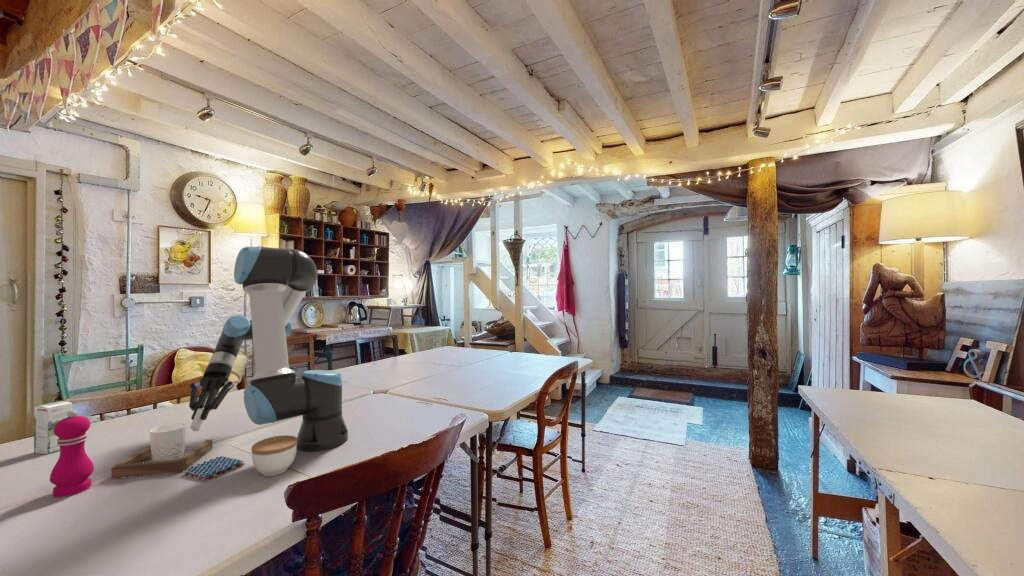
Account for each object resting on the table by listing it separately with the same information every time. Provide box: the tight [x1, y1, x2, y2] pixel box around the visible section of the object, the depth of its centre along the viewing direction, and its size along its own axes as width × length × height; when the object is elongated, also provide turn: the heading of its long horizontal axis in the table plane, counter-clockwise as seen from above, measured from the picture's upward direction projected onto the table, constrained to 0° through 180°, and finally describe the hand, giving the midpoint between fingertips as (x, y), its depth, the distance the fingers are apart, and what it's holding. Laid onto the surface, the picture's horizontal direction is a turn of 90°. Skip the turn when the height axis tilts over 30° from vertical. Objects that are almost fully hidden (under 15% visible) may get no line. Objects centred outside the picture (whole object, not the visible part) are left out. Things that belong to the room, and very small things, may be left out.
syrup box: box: [33, 400, 73, 455], centre depth 119 cm, size 6×6×14 cm
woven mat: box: [182, 455, 246, 482], centre depth 105 cm, size 10×11×2 cm
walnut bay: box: [110, 438, 214, 480], centre depth 110 cm, size 16×16×3 cm
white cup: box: [149, 422, 187, 462], centre depth 111 cm, size 8×8×10 cm
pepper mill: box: [49, 409, 95, 498], centre depth 95 cm, size 7×7×20 cm
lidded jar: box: [251, 435, 298, 477], centre depth 105 cm, size 11×11×9 cm
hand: (194, 429), depth 124 cm, fingers closed
